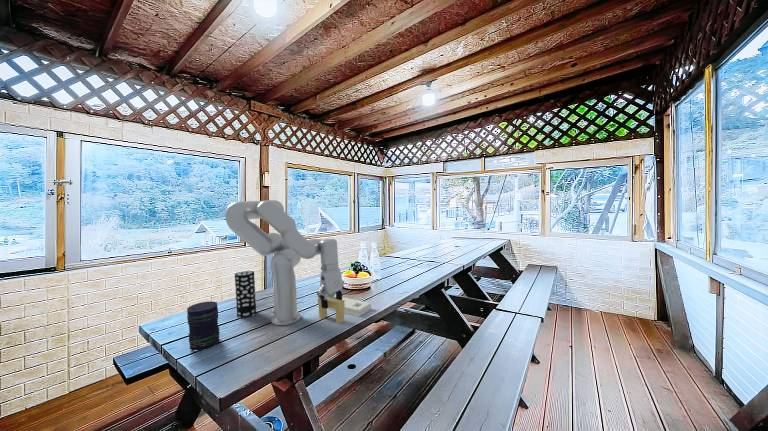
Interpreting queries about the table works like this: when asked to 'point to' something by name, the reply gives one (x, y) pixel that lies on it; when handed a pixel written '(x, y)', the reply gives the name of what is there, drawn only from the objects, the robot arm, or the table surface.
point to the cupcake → (330, 295)
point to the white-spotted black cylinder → (245, 294)
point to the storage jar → (203, 325)
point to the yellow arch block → (333, 304)
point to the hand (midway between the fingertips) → (332, 304)
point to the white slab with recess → (355, 307)
